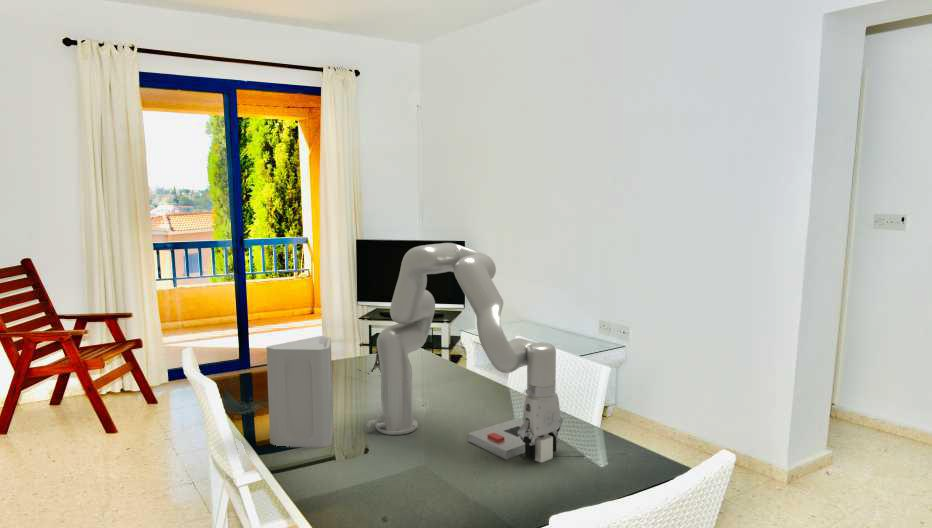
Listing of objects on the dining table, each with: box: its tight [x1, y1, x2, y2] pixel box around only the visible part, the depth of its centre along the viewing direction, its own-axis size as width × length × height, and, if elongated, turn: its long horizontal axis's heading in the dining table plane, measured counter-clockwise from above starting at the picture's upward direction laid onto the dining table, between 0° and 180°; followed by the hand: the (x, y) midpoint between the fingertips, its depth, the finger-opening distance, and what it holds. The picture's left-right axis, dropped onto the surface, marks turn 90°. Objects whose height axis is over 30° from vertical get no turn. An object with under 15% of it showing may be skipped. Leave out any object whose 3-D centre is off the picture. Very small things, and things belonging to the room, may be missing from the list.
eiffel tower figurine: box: [370, 349, 380, 372], centre depth 245 cm, size 15×10×13 cm
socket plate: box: [467, 417, 558, 460], centre depth 172 cm, size 20×16×3 cm
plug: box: [529, 434, 554, 463], centre depth 160 cm, size 4×4×7 cm
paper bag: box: [265, 335, 334, 448], centre depth 173 cm, size 19×15×28 cm
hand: (540, 453), depth 161 cm, fingers open, 7 cm apart
